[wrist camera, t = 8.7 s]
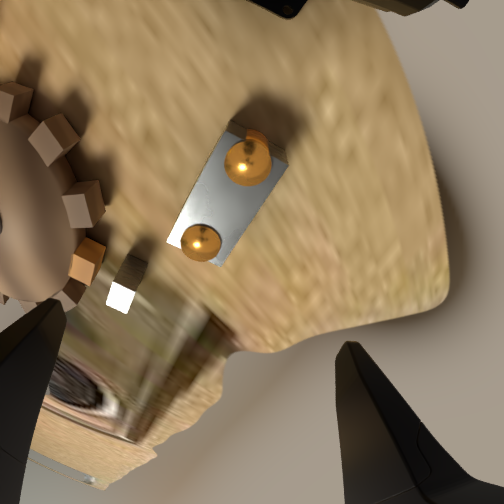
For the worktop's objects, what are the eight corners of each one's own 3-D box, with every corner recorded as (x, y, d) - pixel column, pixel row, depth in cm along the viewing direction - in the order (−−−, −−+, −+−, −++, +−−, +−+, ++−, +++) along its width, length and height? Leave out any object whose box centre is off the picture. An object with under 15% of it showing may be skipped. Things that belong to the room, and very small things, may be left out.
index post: (147, 263, 21) (135, 292, 19) (138, 285, 22) (126, 314, 20) (127, 254, 21) (112, 281, 18) (119, 276, 22) (105, 304, 19)
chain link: (231, 117, 15) (226, 127, 13) (286, 147, 16) (291, 163, 14) (175, 221, 19) (164, 246, 17) (223, 244, 20) (219, 271, 18)
